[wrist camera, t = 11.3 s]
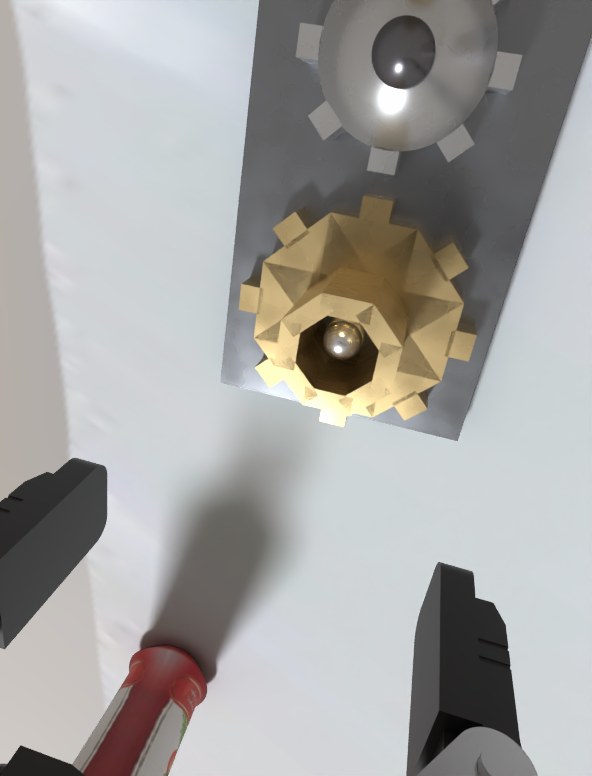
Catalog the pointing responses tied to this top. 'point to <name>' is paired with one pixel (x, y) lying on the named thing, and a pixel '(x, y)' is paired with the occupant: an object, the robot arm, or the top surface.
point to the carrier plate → (419, 191)
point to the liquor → (145, 716)
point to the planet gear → (359, 310)
